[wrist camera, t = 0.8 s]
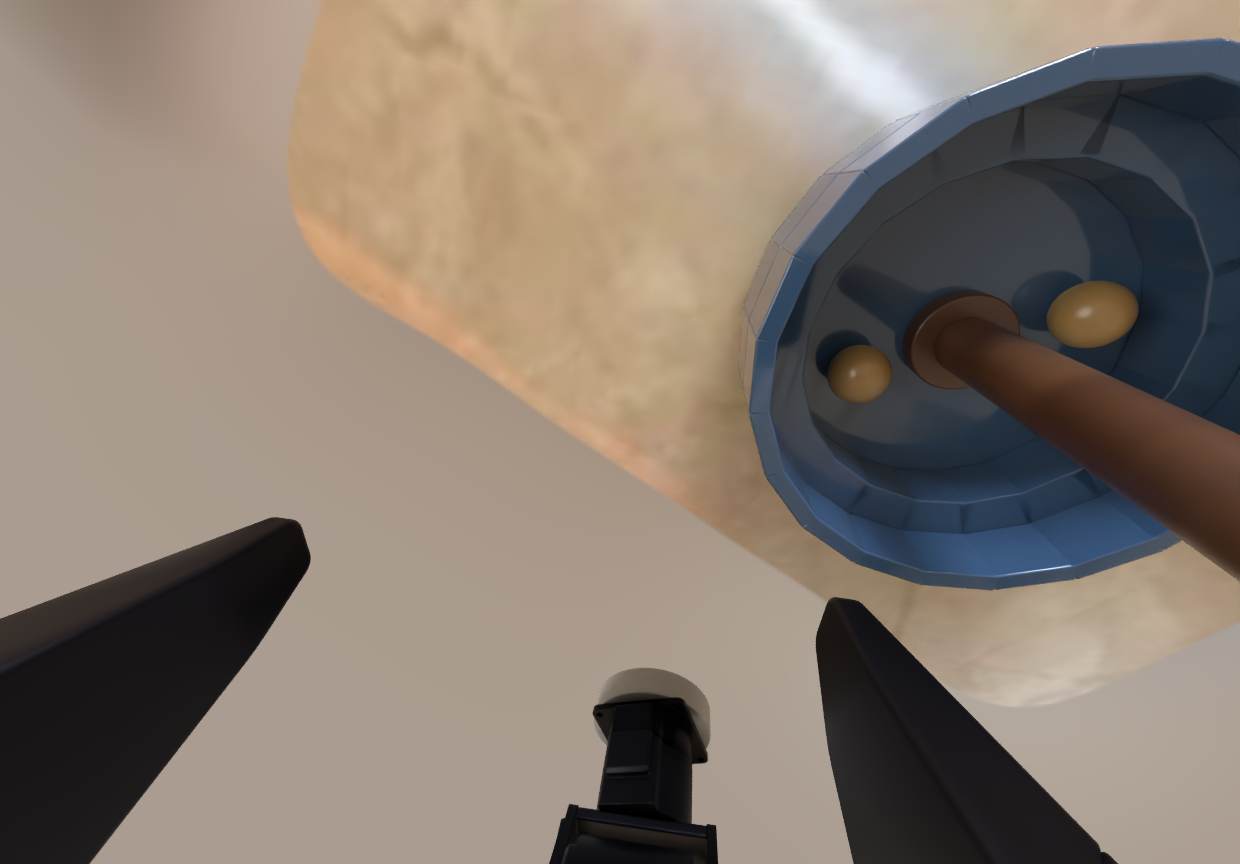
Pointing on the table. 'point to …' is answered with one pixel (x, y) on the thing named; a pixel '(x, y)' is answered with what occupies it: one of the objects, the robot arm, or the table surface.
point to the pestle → (1089, 419)
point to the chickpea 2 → (1092, 314)
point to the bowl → (1022, 277)
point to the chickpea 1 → (859, 374)
